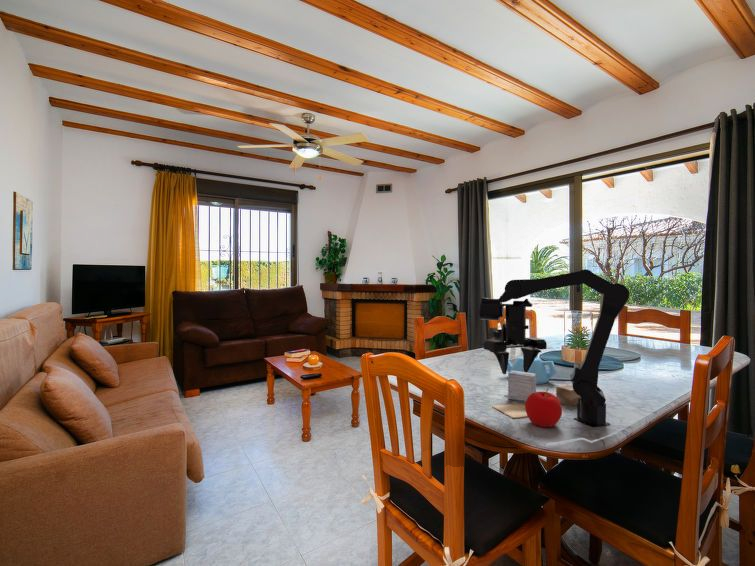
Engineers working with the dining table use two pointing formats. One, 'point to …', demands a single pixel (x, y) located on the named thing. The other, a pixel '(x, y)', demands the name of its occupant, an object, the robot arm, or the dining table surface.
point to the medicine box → (521, 385)
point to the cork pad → (512, 410)
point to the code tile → (517, 400)
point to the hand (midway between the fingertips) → (515, 373)
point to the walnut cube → (567, 395)
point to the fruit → (543, 409)
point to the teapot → (535, 369)
